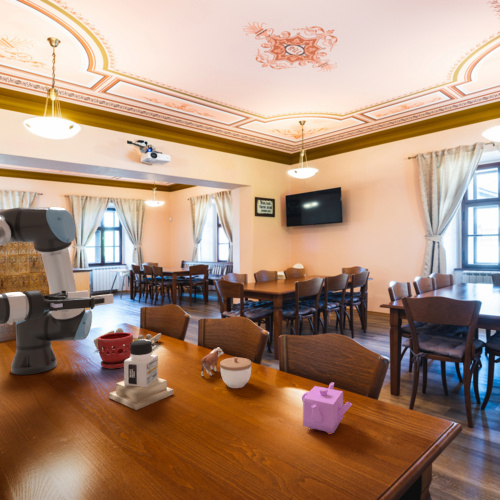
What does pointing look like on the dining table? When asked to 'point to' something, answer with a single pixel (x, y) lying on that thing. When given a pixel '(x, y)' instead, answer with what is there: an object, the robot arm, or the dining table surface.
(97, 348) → the toy food set
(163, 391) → the plinth
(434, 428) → the dining table surface
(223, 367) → the lidded jar
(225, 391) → the dining table surface
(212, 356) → the bull figurine
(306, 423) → the teapot
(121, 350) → the plant pot
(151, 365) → the container
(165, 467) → the dining table surface
